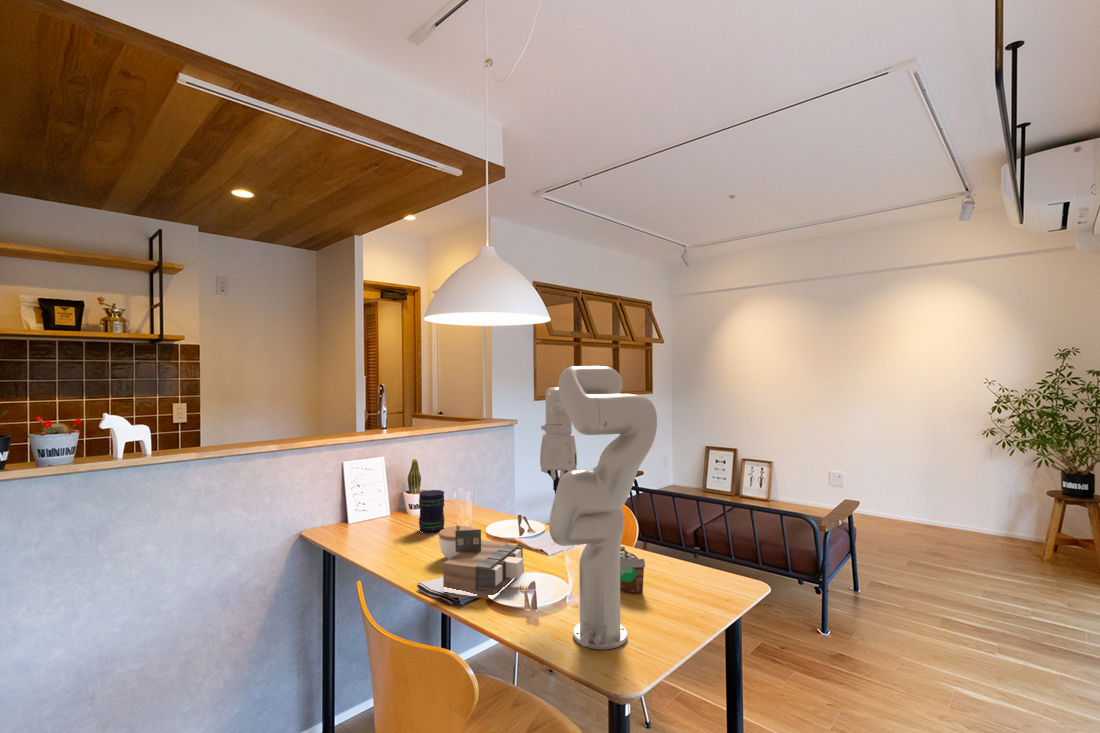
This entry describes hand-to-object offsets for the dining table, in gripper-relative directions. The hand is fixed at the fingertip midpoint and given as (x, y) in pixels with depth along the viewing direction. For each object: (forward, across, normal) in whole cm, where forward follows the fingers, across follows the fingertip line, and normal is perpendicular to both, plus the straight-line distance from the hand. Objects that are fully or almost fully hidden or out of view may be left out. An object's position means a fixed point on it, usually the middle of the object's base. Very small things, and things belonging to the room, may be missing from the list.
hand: (559, 493), depth 152 cm
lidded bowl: (+27, -40, +12) cm, 50 cm away
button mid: (+24, -13, -3) cm, 28 cm away
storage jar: (+27, -66, +37) cm, 80 cm away
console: (+27, -23, -3) cm, 36 cm away
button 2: (+24, -17, +4) cm, 30 cm away
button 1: (+24, -17, -10) cm, 31 cm away
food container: (+27, +18, +5) cm, 33 cm away
